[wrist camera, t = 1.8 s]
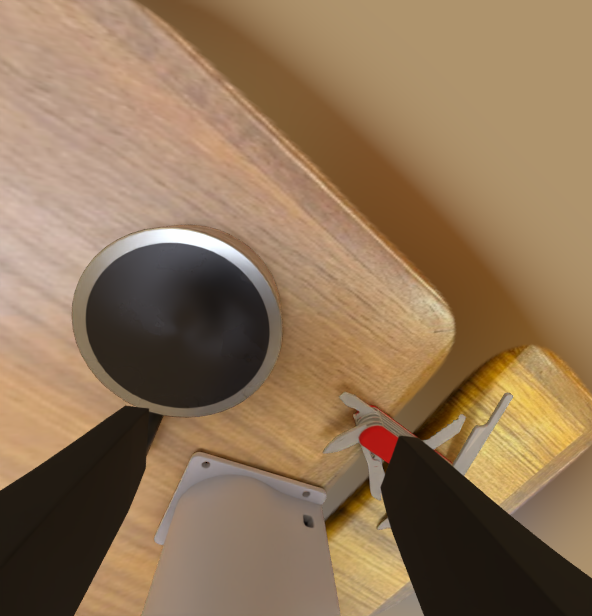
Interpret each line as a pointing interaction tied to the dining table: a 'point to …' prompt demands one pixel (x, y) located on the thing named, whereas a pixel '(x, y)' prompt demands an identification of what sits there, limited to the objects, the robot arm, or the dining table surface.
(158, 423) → the pan
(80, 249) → the dining table surface
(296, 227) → the dining table surface
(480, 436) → the swiss army knife
